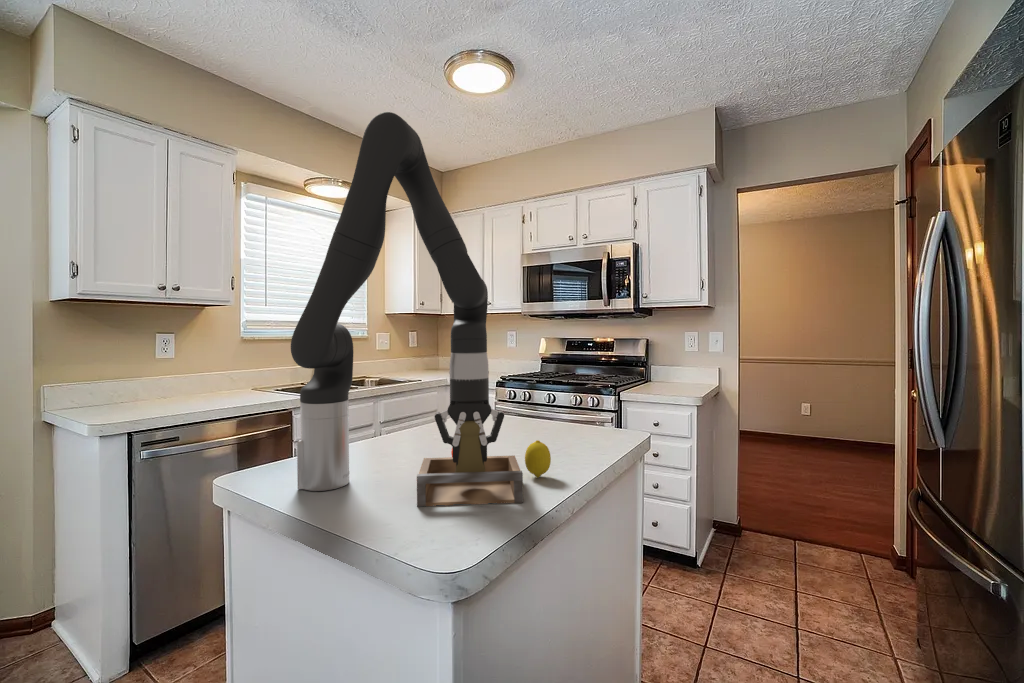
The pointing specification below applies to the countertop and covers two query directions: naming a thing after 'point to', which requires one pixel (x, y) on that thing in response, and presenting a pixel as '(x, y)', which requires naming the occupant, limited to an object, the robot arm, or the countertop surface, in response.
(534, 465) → the lemon
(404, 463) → the countertop surface
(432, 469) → the box
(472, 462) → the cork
